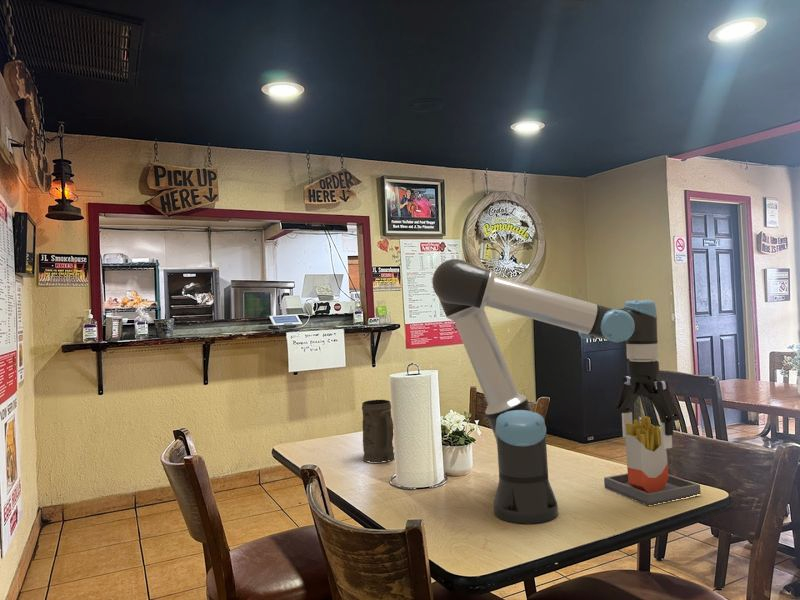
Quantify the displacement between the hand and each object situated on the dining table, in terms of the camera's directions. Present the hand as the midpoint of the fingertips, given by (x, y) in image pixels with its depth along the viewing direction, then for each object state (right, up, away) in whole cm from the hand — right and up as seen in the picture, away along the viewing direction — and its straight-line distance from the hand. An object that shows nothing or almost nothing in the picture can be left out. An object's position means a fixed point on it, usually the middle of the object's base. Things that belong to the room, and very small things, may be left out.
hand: (646, 442), depth 146 cm
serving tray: (+1, -13, 0) cm, 13 cm away
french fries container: (0, -12, -1) cm, 12 cm away
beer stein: (-69, -18, +45) cm, 84 cm away
